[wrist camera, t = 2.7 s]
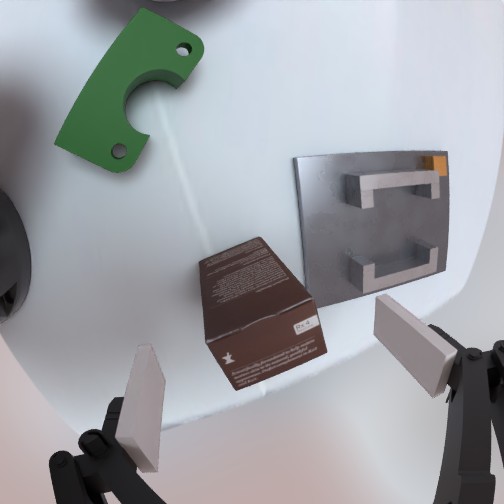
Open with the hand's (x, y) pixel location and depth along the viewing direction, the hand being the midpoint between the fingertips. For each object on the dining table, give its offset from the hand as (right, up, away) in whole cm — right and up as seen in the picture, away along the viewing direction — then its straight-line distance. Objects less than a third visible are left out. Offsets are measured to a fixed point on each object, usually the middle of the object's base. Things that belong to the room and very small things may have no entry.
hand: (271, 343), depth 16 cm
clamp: (-11, +18, +5) cm, 21 cm away
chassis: (+12, +8, +12) cm, 19 cm away
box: (-2, +3, +11) cm, 11 cm away
